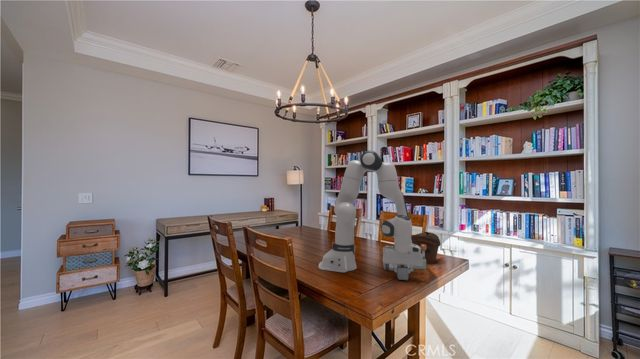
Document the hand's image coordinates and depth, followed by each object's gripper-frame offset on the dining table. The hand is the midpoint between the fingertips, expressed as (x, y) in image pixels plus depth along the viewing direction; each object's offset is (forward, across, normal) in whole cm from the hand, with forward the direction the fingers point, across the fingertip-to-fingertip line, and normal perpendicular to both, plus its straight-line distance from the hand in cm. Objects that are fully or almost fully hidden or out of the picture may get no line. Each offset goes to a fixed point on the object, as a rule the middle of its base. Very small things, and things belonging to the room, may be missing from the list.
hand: (402, 272), depth 142 cm
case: (+3, +18, +35) cm, 39 cm away
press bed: (+3, -1, +20) cm, 20 cm away
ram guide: (+3, +11, +20) cm, 23 cm away
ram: (-1, +12, +20) cm, 23 cm away
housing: (+2, 0, 0) cm, 2 cm away
